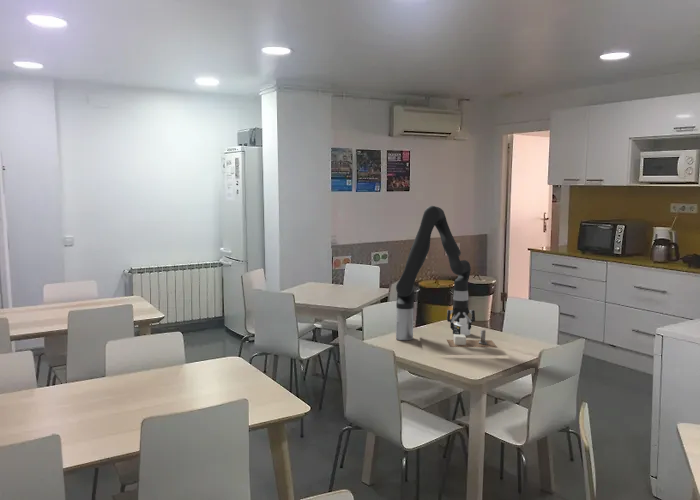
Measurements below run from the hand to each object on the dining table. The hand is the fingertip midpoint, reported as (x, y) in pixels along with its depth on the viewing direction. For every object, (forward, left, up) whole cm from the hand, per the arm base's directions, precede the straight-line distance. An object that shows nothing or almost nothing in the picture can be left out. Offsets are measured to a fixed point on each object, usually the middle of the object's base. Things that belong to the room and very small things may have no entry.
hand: (460, 329), depth 291 cm
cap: (-1, 0, -7) cm, 7 cm away
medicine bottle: (+3, +20, -9) cm, 22 cm away
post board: (+5, 0, -9) cm, 10 cm away
